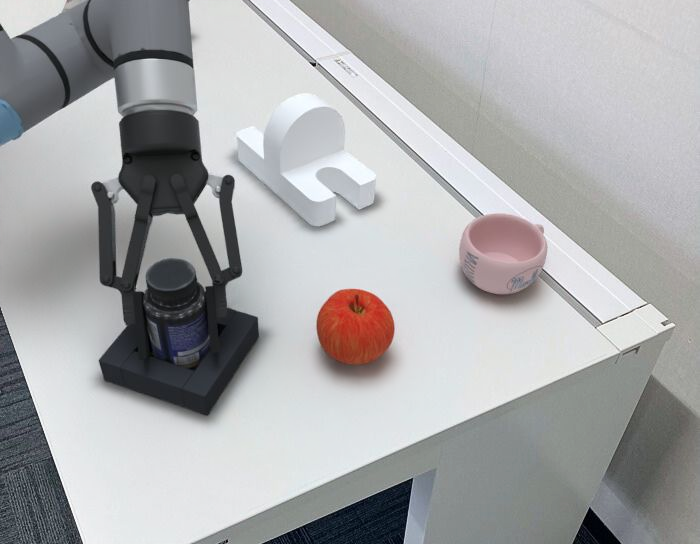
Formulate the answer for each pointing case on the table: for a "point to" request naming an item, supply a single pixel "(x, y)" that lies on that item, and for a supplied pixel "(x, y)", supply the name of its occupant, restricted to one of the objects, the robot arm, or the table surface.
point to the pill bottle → (176, 313)
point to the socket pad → (176, 381)
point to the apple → (355, 326)
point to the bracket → (307, 159)
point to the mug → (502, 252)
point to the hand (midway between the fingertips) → (180, 355)
